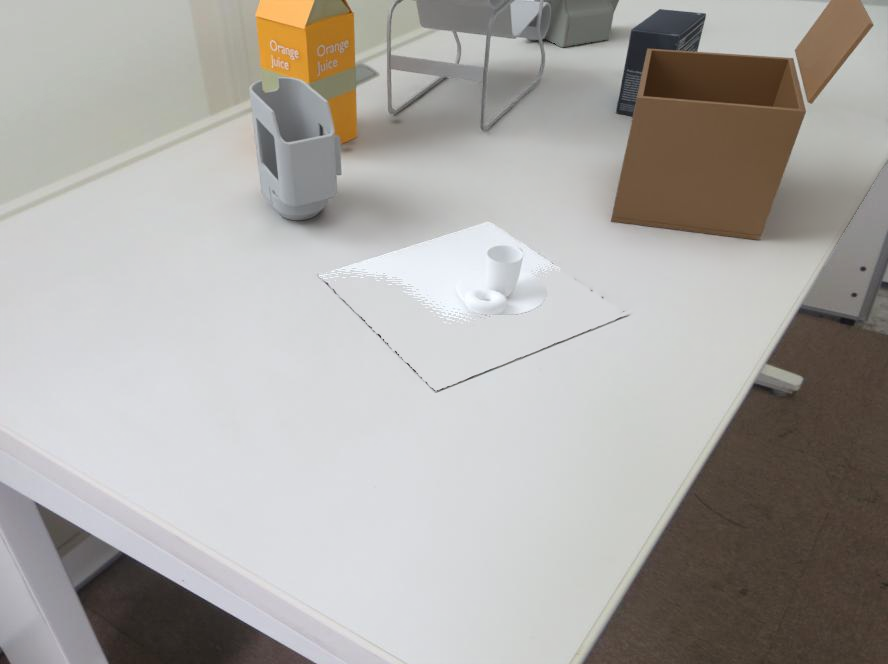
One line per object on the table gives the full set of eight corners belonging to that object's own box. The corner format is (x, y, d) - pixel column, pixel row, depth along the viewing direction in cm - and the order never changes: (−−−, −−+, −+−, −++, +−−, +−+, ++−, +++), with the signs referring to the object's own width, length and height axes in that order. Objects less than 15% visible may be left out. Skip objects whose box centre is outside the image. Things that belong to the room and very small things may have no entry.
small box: (640, 88, 106) (658, 6, 99) (688, 97, 103) (709, 12, 96) (612, 113, 100) (629, 26, 93) (661, 122, 97) (683, 34, 90)
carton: (753, 176, 84) (793, 57, 76) (759, 240, 74) (806, 111, 66) (623, 162, 88) (647, 48, 80) (610, 221, 78) (637, 97, 69)
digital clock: (607, 26, 129) (620, -45, 122) (631, 41, 122) (645, -33, 115) (515, 34, 127) (523, -38, 120) (534, 50, 120) (543, -25, 113)
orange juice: (311, 120, 101) (300, -52, 88) (358, 136, 96) (353, -43, 83) (266, 137, 97) (247, -40, 84) (313, 156, 92) (300, -29, 79)
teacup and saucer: (484, 332, 64) (488, 291, 61) (431, 289, 69) (433, 249, 66) (565, 302, 67) (572, 261, 64) (508, 262, 72) (513, 223, 69)
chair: (385, 120, 100) (384, -50, 87) (460, 64, 116) (469, -87, 103) (479, 137, 95) (494, -42, 82) (545, 75, 111) (566, -82, 98)
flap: (794, 50, 76) (798, 51, 76) (807, 102, 65) (811, 104, 65) (846, -22, 71) (850, -20, 71) (869, 22, 60) (874, 24, 60)
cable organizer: (289, 237, 77) (278, 120, 69) (252, 189, 86) (238, 80, 78) (349, 223, 79) (345, 107, 71) (307, 177, 88) (299, 69, 80)
